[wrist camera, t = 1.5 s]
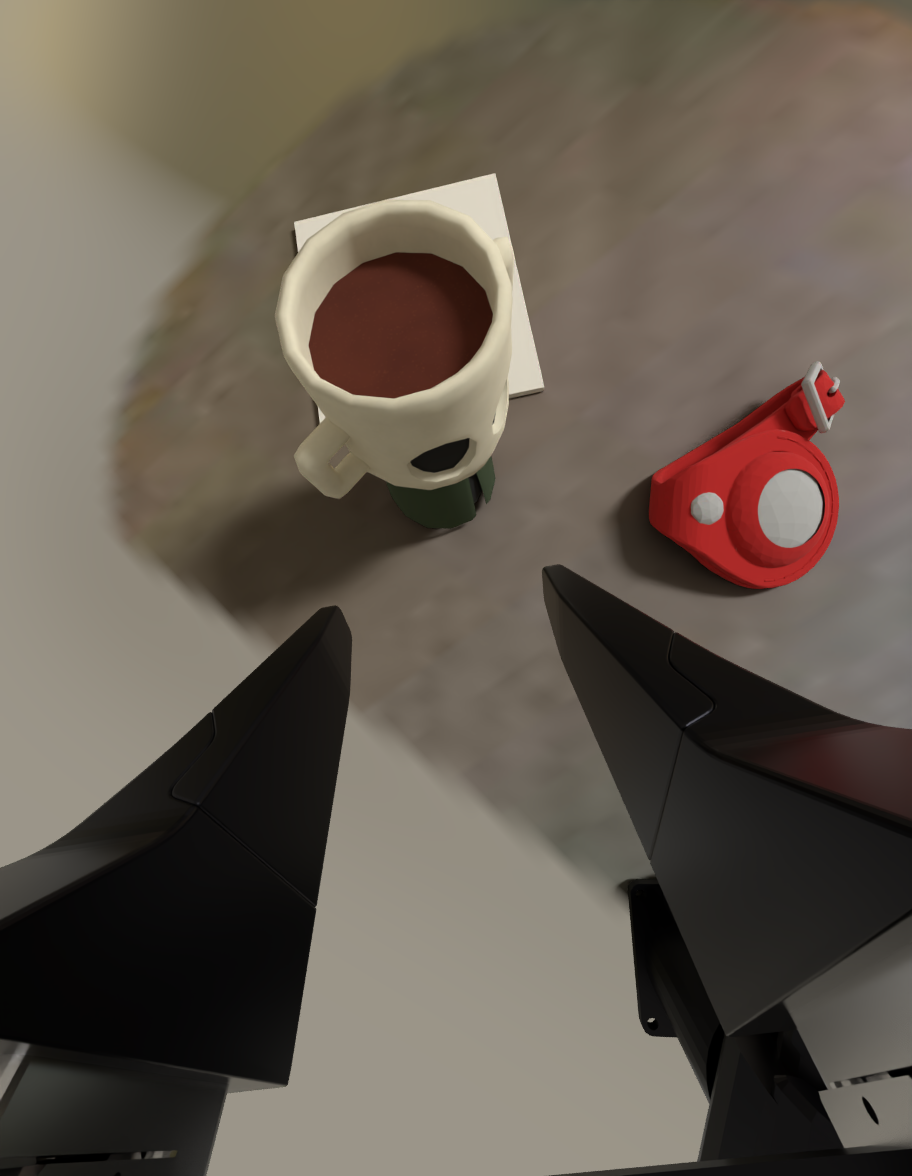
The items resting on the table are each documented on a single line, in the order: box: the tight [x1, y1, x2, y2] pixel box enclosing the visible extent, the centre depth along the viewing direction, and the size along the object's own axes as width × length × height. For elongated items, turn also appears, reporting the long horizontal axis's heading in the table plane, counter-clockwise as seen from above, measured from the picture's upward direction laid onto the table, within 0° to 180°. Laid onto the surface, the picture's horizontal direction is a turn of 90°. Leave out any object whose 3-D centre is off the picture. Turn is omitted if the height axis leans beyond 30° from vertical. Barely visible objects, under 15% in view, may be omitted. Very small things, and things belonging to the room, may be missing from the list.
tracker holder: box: [649, 361, 845, 589], centre depth 22 cm, size 12×4×10 cm
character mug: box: [275, 199, 514, 528], centre depth 18 cm, size 11×7×13 cm, turn 139°
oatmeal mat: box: [294, 173, 544, 423], centre depth 26 cm, size 16×14×1 cm
